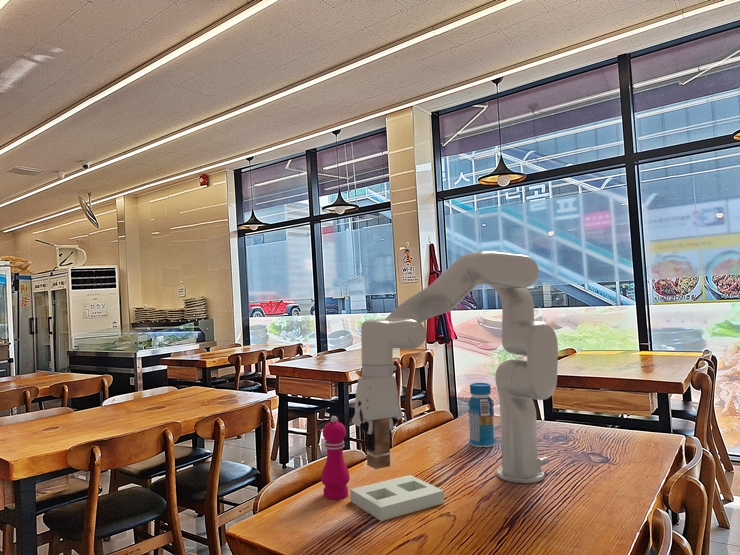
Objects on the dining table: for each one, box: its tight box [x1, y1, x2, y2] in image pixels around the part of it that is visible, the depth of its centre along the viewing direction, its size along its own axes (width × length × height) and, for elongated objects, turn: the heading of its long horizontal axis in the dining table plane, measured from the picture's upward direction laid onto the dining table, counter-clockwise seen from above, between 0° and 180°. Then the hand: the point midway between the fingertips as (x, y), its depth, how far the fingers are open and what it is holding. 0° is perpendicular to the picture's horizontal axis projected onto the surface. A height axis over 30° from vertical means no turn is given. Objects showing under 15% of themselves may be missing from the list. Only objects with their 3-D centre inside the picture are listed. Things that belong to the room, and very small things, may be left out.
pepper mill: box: [320, 415, 350, 500], centre depth 137 cm, size 7×7×20 cm
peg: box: [366, 418, 391, 470], centre depth 129 cm, size 4×4×12 cm
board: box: [349, 474, 445, 522], centre depth 131 cm, size 18×14×3 cm
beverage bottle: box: [467, 382, 496, 448], centre depth 179 cm, size 8×8×20 cm
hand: (378, 447), depth 129 cm, fingers closed on peg, 4 cm apart
